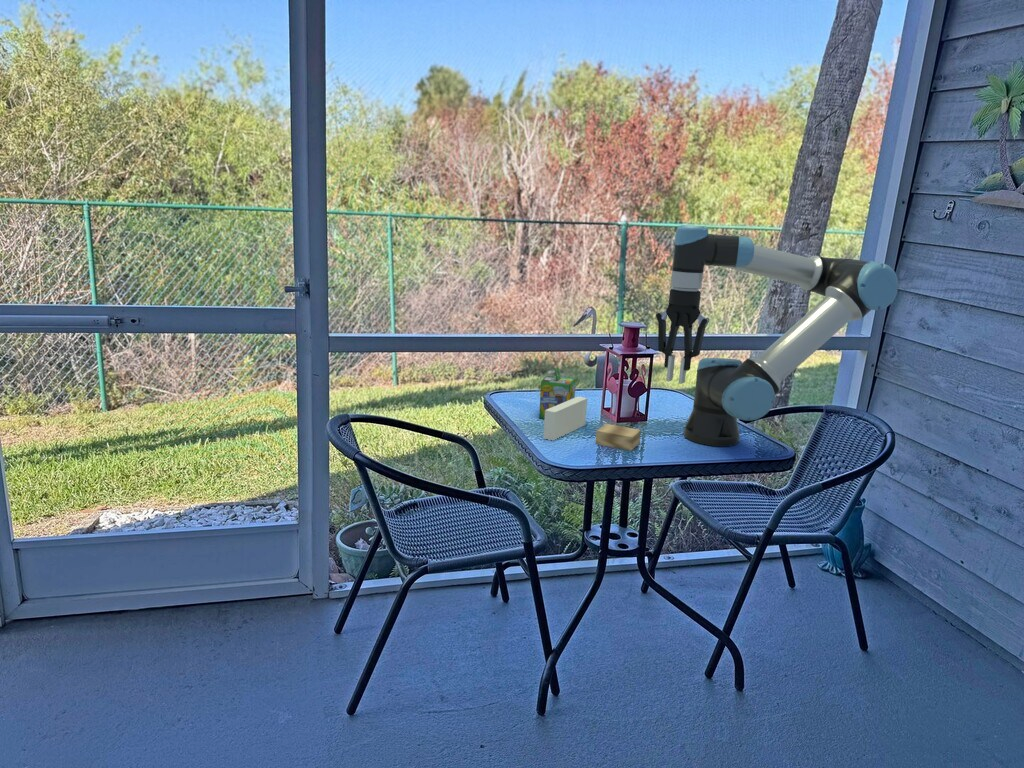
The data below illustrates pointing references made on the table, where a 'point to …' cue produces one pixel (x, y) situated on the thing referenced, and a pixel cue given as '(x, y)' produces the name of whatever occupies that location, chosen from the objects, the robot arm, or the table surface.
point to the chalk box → (555, 391)
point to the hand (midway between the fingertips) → (675, 381)
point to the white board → (565, 418)
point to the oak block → (618, 437)
